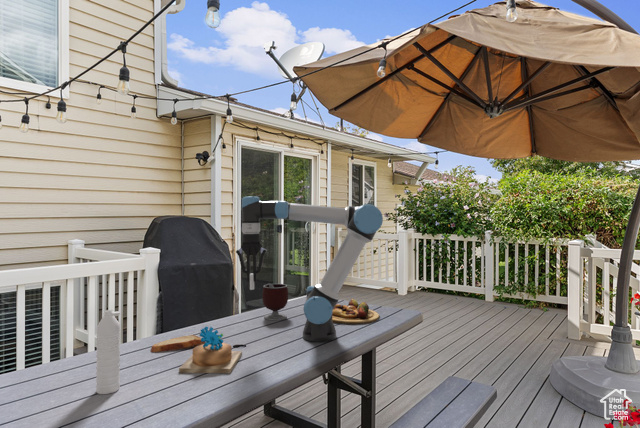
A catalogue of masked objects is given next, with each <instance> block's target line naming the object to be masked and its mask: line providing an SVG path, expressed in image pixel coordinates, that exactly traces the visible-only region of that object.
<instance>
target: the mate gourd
mask: <svg viewBox="0 0 640 428" xmlns="http://www.w3.org/2000/svg"><path fill="white" fill-rule="evenodd" d="M261 295H262V303H263V305H264V307H265V308H266V309H268V310H270V311H272V313H268V314H264V315H263V319H265V320H266V321H283V320H286V319H287V314H285V313H280V312H279V311H280V310H283V309H284V308H285V307H286V306H287V305H288V299H289V288H288V285H287V284H286V283H285V284H284V283H270V282H268V283H267V284H264V285H263V288H262V292H261Z"/></svg>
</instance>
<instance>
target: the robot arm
mask: <svg viewBox="0 0 640 428" xmlns="http://www.w3.org/2000/svg"><path fill="white" fill-rule="evenodd" d="M265 219H266V220H269V219H270V220H274V219H277V220H278V219H279V220H288V221H289V220H290V221H300V222H301V221H302V222H308V223H310V222H311V223H321V224H330V225H331V224H332V225H343V226H345V227H346V232H347V234H346V235H345V236H344V237H345V238H344V239H343V241H342V243H341V245H340V246H339V248H338V250H337V251H336V254H335V256H334V257H333V259H332V261H331V263H330V265H329V267H328V268H327V270H326V272H325V273H324V275H323V277H322V279H321V281H320V282H319V283H317V284H314V285H310V286H307V288H306V300H305V302H304V304H303V314H304V316H305V319H306V321H305V325H304V326H303V327H304V328H303V330H302V339H303V340H306V341H307V342H314V343H325V342H330V341H331V342H332V341H334V340H335V339H336V338H337V330H336V327H335V323H333V321H332V313H333V309H334V308H335V306H336V305H337V304H338V302H339V300H340V295H339V292H340V291H341V289H342V288H343V285H344V283H345V282H346V280H347V278H348V276H349V275H350V273H351V271H352V270H353V267H354V265H355V263H356V262H357V260H358V258H359V256H360V255H361V253H362V250H363V249H364V247H365V245H366V244H367V243H371V242H372V240H373V238H374V237H375V235H376V233H377V231H379V230H380V229H381V227H382V225H383V223H384V220H383V219H384V218H383V214H382V211H381V210H380V208H379V207H377V206H375V205H373V204H369V203H365V204H361V205H359V206H352V205H351V206H349V205H348V206H346V207H335V206H326V205H325V206H324V205H315V204H303V203H294V202H293V203H292V202H288V201H286V200H267V201H266V200H265V201H264V200H263V201H262V200H260V197H259V196H244V197H242V198H241V233H242V235H241V237H242V238H241V239H242V240H241V246H240V248H239V249H237V250H236V251H235V253H236V254H237V256H238V260H239V263H240V267H241V270H242V273H244V274H246V280H247V282H249V290H250V291H252V290H253V291H254V290H255V282H257V281H258V278H257V276H258V273H261V272H262V267H263V264H264V263H263V262H264V259H265V255H266V253H267V251H268V250H267V248H263V247H262V244H261V233H260V232H261V220H265ZM259 252H260V257H259V261H258V263H257V257H258V254H259ZM243 253H244V254H245V255H246V263H245V260H244V256H243ZM251 257H252V259H251ZM251 260H252V264H251ZM257 264H258V266H257ZM251 265H252V267H251ZM251 270H252V271H251Z"/></svg>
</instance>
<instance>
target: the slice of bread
mask: <svg viewBox="0 0 640 428" xmlns="http://www.w3.org/2000/svg"><path fill="white" fill-rule="evenodd" d="M201 338H202V337H201V336H197V335H194V334H191V335H182V336H179V337H174V338H169V339H166V340H163V341H159V342H158V343H154V344H153V345H152V346H151V348H150V352H151V353H161V352H163V353H164V352H170V351H177V350H184V349H190V348H195V347H196V346H199V345H202V344H205V343H206V342H205V341H204V342H201Z"/></svg>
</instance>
